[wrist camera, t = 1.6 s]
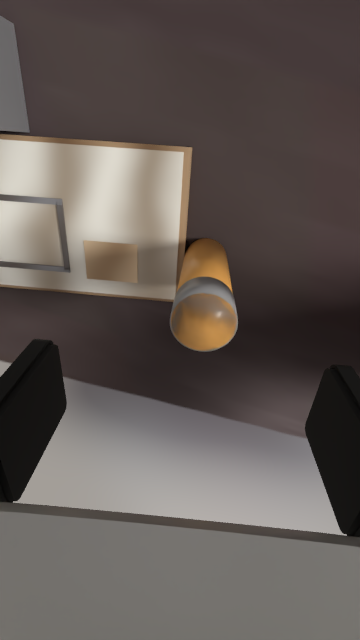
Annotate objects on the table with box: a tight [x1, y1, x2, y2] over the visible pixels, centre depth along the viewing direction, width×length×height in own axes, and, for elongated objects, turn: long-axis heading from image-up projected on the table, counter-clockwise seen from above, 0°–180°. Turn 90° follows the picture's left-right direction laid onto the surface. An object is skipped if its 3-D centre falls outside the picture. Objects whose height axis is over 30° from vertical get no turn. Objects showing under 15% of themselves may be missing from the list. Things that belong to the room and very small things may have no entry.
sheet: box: [0, 134, 192, 302], centre depth 23 cm, size 19×11×1 cm, turn 86°
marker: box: [170, 238, 238, 352], centre depth 20 cm, size 3×3×10 cm
